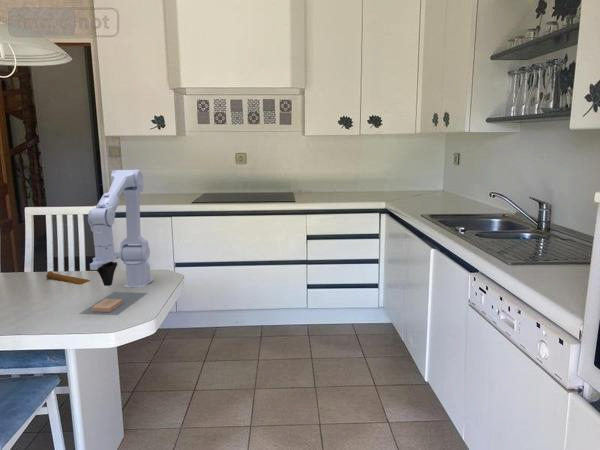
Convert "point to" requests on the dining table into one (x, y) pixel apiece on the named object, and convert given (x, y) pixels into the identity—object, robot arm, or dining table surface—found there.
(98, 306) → the tile
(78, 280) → the primitive tool
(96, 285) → the dining table surface
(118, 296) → the mat
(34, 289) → the dining table surface
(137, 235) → the robot arm
